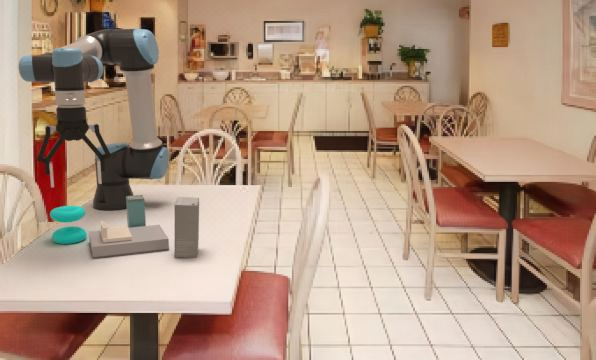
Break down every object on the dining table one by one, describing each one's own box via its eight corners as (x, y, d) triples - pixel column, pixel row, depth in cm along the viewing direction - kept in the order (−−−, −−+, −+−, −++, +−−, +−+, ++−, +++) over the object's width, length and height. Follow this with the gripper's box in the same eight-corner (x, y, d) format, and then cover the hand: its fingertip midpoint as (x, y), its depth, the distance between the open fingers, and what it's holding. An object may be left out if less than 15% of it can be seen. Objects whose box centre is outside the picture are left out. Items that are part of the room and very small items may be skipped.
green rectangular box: (128, 232, 197) (125, 196, 195) (144, 231, 199) (142, 194, 197) (129, 237, 193) (127, 199, 190) (146, 235, 195) (144, 198, 192)
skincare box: (176, 249, 181) (174, 196, 178) (201, 248, 182) (199, 196, 178) (173, 258, 173) (171, 203, 170) (199, 258, 173) (197, 203, 170)
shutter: (99, 231, 186) (98, 218, 185) (127, 228, 189) (126, 216, 188) (103, 242, 175) (102, 229, 174) (132, 239, 178) (131, 226, 177)
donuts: (70, 203, 194) (91, 207, 189) (72, 233, 196) (93, 238, 191) (42, 209, 186) (64, 214, 181) (45, 241, 188) (66, 247, 183)
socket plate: (89, 242, 187) (88, 231, 186) (159, 235, 195) (159, 224, 194) (93, 258, 173) (92, 246, 172) (168, 250, 180) (168, 238, 179)
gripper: (22, 108, 160) (29, 190, 164) (118, 106, 169) (122, 183, 173) (23, 106, 167) (29, 185, 171) (115, 103, 175) (119, 178, 180)
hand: (76, 184), depth 172 cm, fingers open, 12 cm apart
